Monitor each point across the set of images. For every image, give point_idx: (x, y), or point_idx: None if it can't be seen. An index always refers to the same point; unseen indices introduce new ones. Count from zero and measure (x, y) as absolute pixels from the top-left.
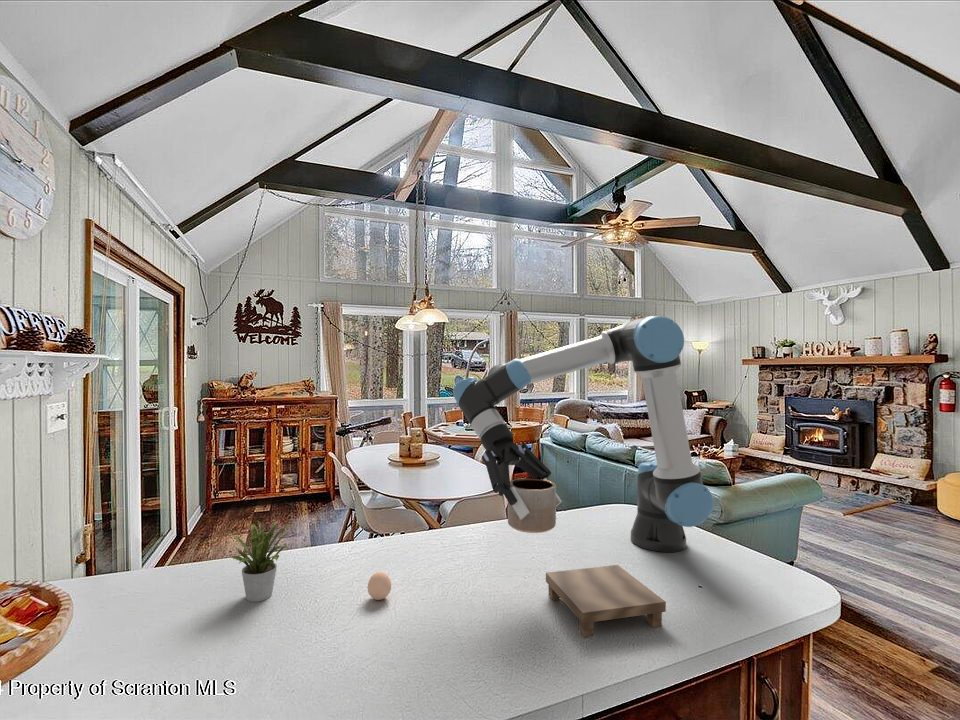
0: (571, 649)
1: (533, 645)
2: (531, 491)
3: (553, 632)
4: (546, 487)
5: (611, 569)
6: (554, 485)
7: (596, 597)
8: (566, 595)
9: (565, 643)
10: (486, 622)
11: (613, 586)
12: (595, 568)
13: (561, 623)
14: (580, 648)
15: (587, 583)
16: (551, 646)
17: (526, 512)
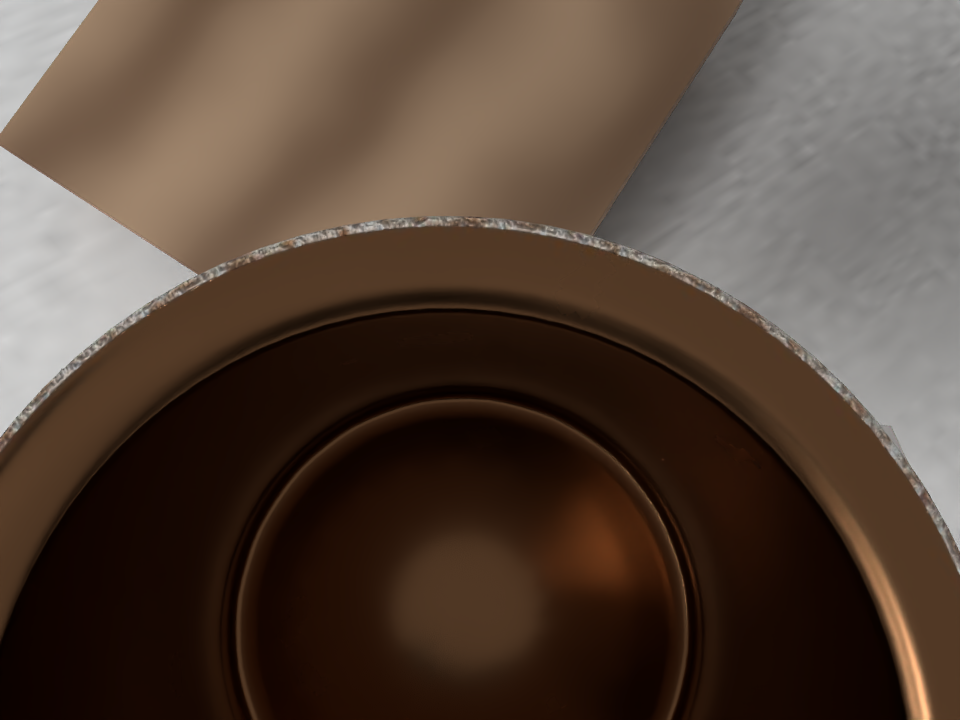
0: (824, 48)
1: (930, 193)
2: (886, 447)
3: (765, 187)
4: (65, 629)
5: (98, 137)
6: (215, 290)
7: (536, 16)
8: (635, 163)
9: (803, 94)
10: (948, 502)
11: (329, 12)
12: (155, 225)
13: (664, 204)
14: (786, 23)
15: (405, 147)
16: (873, 127)
17: (894, 443)
